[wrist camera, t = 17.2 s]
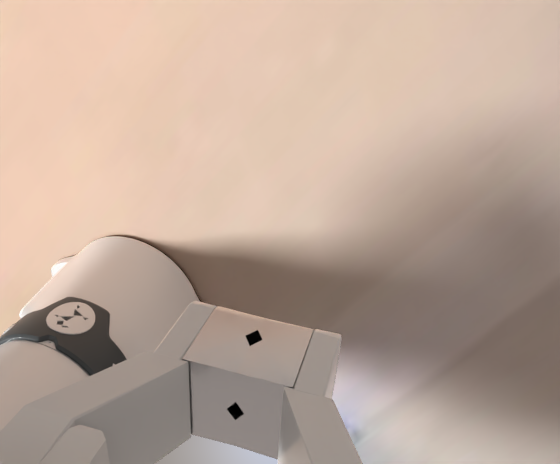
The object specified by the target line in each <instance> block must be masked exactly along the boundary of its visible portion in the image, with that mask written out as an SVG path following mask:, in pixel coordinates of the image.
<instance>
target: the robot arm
mask: <svg viewBox="0 0 560 464" xmlns="http://www.w3.org/2000/svg"><path fill="white" fill-rule="evenodd" d="M51 273H52V278H51V279H50V280H49V281H48V282H47V283H46V284H45V285H44V286H43V287H42V288H41V289H40V290H39V292H38V293H37V294H36V295H35V296H34V297H33V298H32V299H31V300H30V301H29V302H28V303H27V304H26V305H25V306H24V307H23V308H22V310H21V312H20V315H19V316H20V320H19V321H18V322H17V323H15V324H13V325H12V326H11V327H9V328H8V329H7V330H6V331H5V332H4V333H3V335H2V336H1V337H0V464H155V463H156V462H158V461H159V460H161V459H162V458H163V457H165V456H166V455H167V454H169V453H170V452H171V451H173V450H174V449H176V448H177V447H178V446H179V445H181V444H182V443H184V442H185V441H186V440H188V439H189V438H190V437H191V434H192V435H196V436H200V437H204V438H208V439H212V440H215V441H219V442H223V443H227V444H231V445H234V446H237V447H241V448H244V449H247V450H250V451H253V452H256V453H259V454H263V455H266V456H269V457H272V458H275V459H278V464H363V463H362V461H361V459H360V457H359V455H358V453H357V451H356V448H355V446H354V444H353V442H352V440H351V438H350V435H349V433H348V431H347V429H346V427H345V425H344V423H343V420H342V418H341V416H340V414H339V412H338V410H337V408H336V405H335V403H334V401H333V399H332V395H333V390H334V384H335V379H336V372H337V366H338V360H339V354H340V347H341V341H342V336H341V334H338V333H333V332H329V331H324V330H319V329H312V328H307V327H303V326H298V325H294V324H289V323H285V322H281V321H276V320H272V319H267V318H264V317H260V316H256V315H252V314H248V313H244V312H240V311H236V310H232V309H228V308H225V307H221V306H215V305H211V304H207V303H203V302H200V300H199V299H198V297H197V295H196V293H195V291H194V289H193V287H192V285H191V283H190V282H189V280H188V279H187V277H186V276H185V274H184V273H183V272H182V270H181V269H180V268H179V267H178V266H177V265H176V264H175V263H174V262H173V261H172V260H171V259H170V258H168V257H167V256H166V255H165V254H163V253H162V252H160V251H159V250H157V249H156V248H154V247H152V246H150V245H148V244H146V243H144V242H141V241H138V240H135V239H132V238H127V237H119V236H111V237H104V238H100V239H97V240H94V241H93V242H91V243H89V244H88V245H87V246H85V247H84V248H83V249H82V250H81V251H80V252H79V253H78V254H77V255H75V256H71V257H67V258H63V259H60V260H58V261H57V262H56V263H55V264H54V265H53V267H52V269H51Z"/></svg>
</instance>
